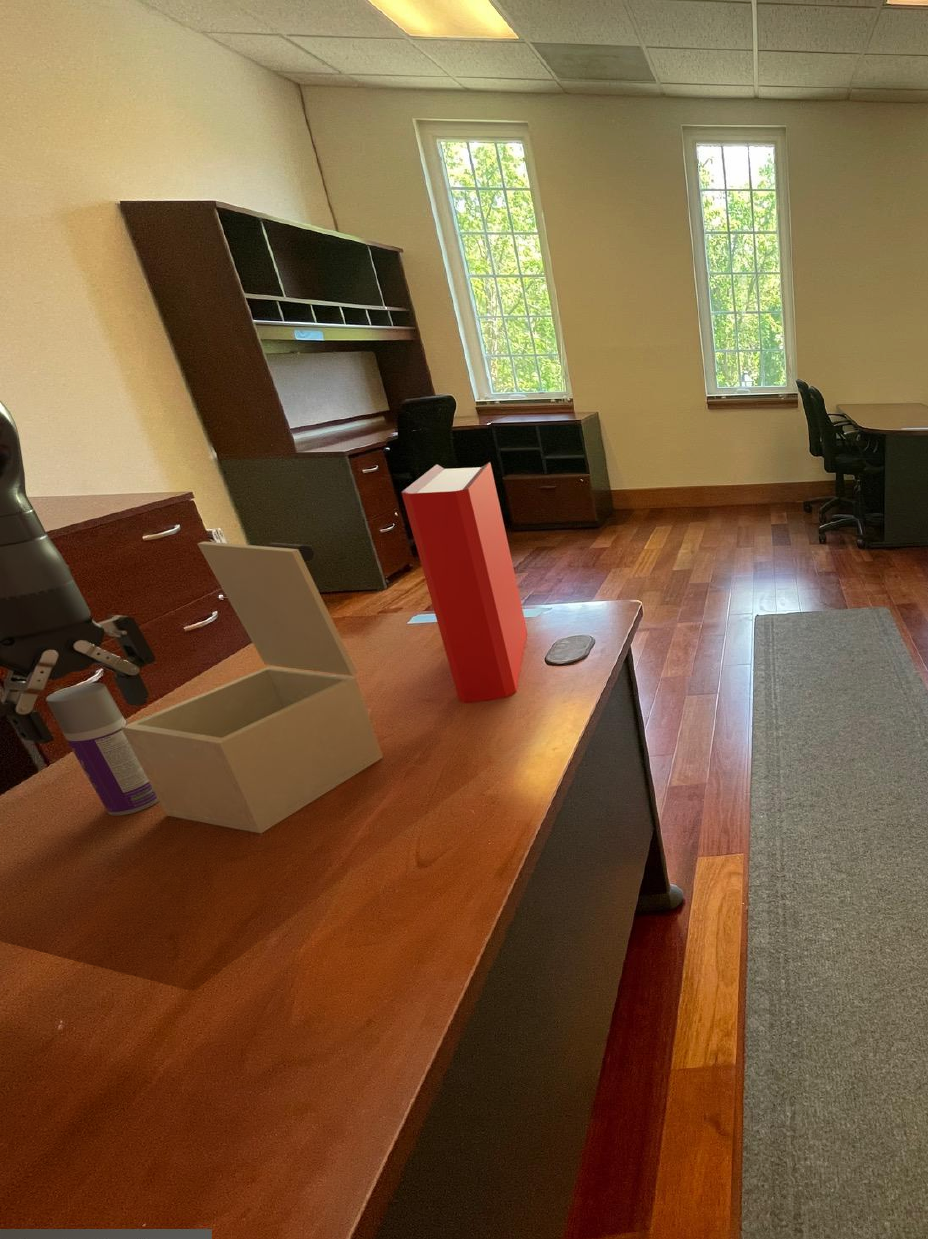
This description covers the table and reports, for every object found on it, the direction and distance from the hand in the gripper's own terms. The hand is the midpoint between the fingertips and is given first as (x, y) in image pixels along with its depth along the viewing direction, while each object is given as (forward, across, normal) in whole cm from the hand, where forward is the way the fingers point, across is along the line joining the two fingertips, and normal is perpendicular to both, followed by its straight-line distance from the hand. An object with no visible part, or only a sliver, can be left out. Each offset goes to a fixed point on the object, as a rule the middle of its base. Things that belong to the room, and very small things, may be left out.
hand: (92, 722), depth 74 cm
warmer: (+11, -7, +13) cm, 18 cm away
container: (+11, 0, 0) cm, 11 cm away
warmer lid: (-9, -14, +13) cm, 21 cm away
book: (+11, -43, +14) cm, 47 cm away
